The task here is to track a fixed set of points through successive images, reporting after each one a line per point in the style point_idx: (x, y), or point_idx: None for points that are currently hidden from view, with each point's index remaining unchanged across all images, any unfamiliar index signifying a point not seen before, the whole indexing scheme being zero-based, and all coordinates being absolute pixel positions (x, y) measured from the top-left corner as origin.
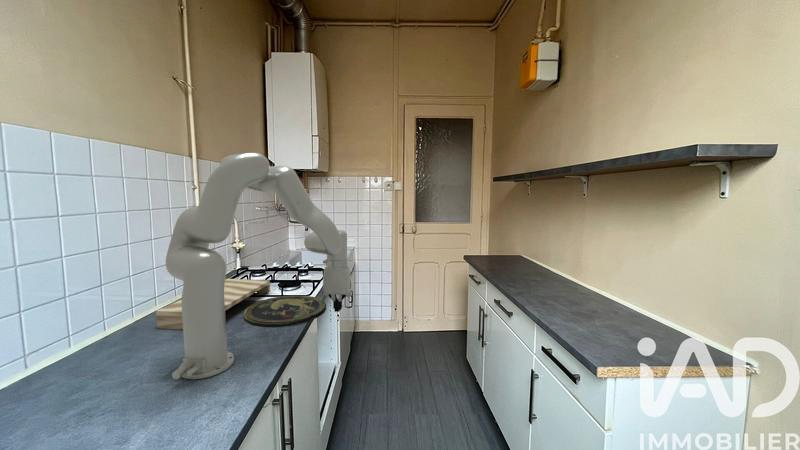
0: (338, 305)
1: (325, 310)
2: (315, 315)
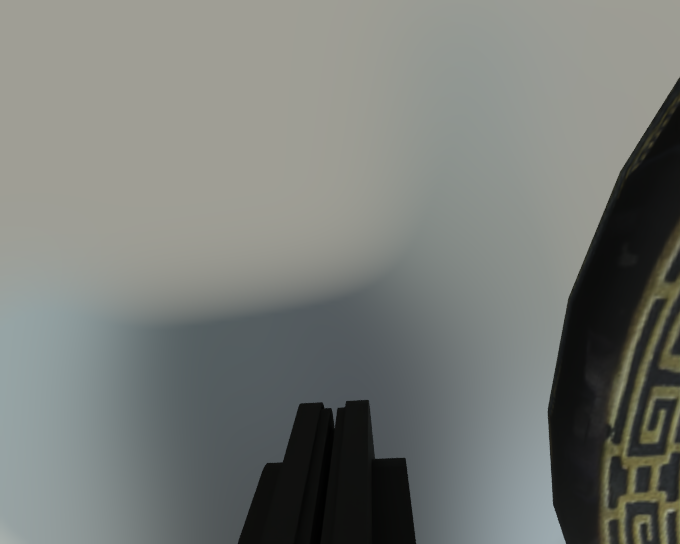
0: (278, 488)
1: (552, 474)
2: (667, 161)
